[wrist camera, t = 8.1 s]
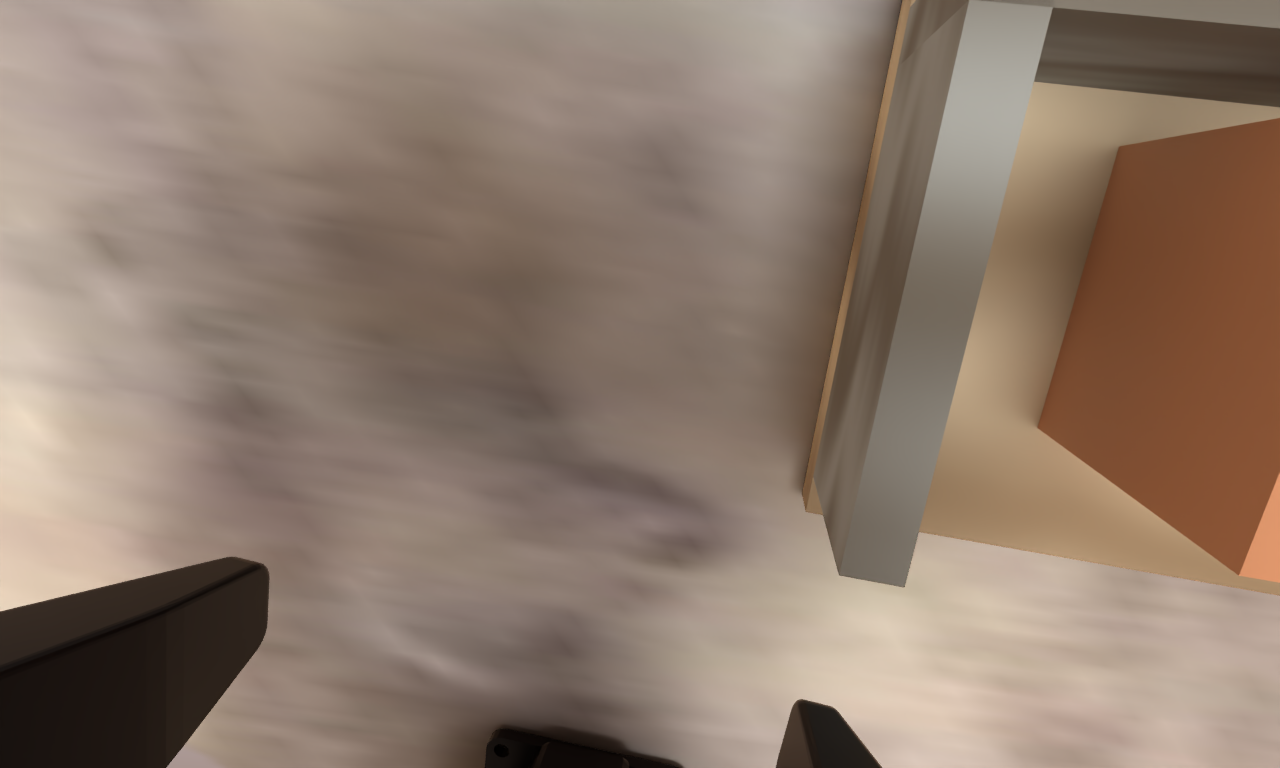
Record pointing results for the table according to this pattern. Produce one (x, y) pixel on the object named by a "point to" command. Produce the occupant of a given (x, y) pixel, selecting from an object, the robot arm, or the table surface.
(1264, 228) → the block
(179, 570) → the robot arm
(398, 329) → the table surface
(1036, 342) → the corner board
